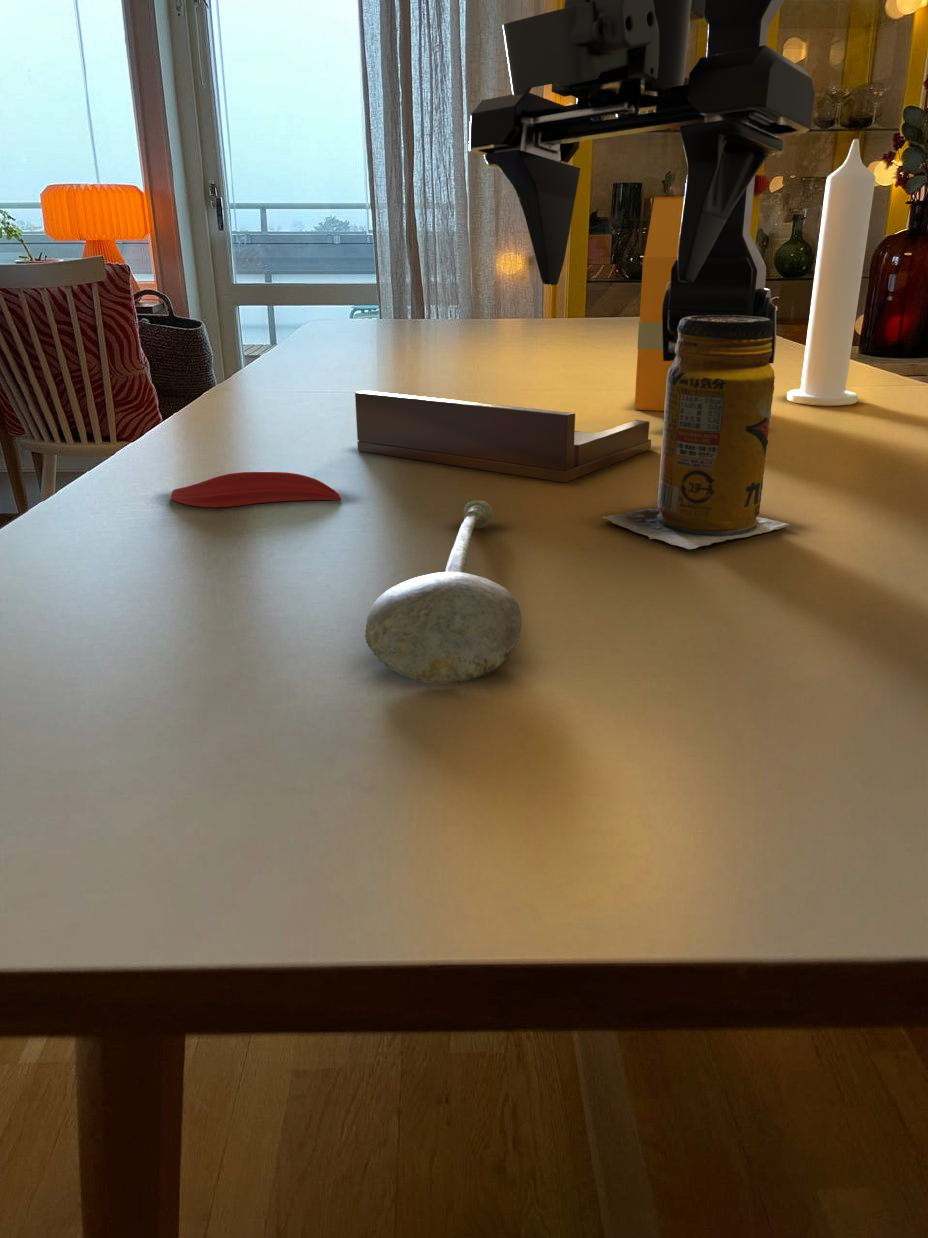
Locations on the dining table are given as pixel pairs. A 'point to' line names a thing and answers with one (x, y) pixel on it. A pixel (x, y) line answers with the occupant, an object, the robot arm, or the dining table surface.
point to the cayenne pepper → (253, 489)
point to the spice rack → (491, 436)
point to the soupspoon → (446, 618)
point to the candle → (837, 284)
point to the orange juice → (656, 301)
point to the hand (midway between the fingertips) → (614, 283)
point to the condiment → (713, 434)
